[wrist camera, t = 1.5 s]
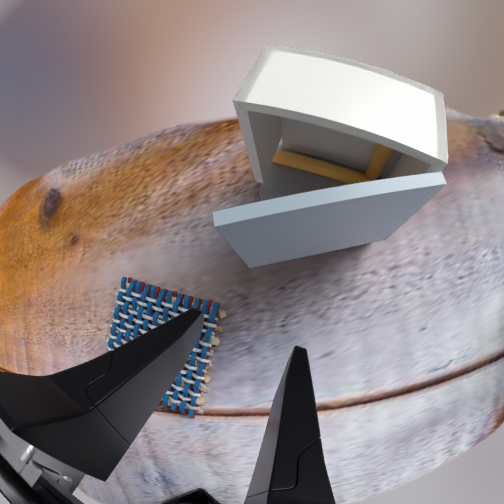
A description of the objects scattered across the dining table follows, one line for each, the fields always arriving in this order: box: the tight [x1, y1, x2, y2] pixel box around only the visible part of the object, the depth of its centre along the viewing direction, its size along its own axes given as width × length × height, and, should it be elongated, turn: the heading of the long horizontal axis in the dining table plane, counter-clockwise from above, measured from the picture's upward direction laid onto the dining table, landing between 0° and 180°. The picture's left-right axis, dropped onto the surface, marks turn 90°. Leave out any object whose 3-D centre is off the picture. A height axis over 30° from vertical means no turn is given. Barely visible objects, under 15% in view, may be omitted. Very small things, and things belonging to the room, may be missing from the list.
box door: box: [212, 172, 446, 268], centre depth 14 cm, size 1×10×9 cm, turn 101°
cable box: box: [233, 44, 448, 201], centre depth 17 cm, size 5×10×13 cm, turn 70°
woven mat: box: [106, 277, 226, 418], centre depth 22 cm, size 10×11×2 cm
